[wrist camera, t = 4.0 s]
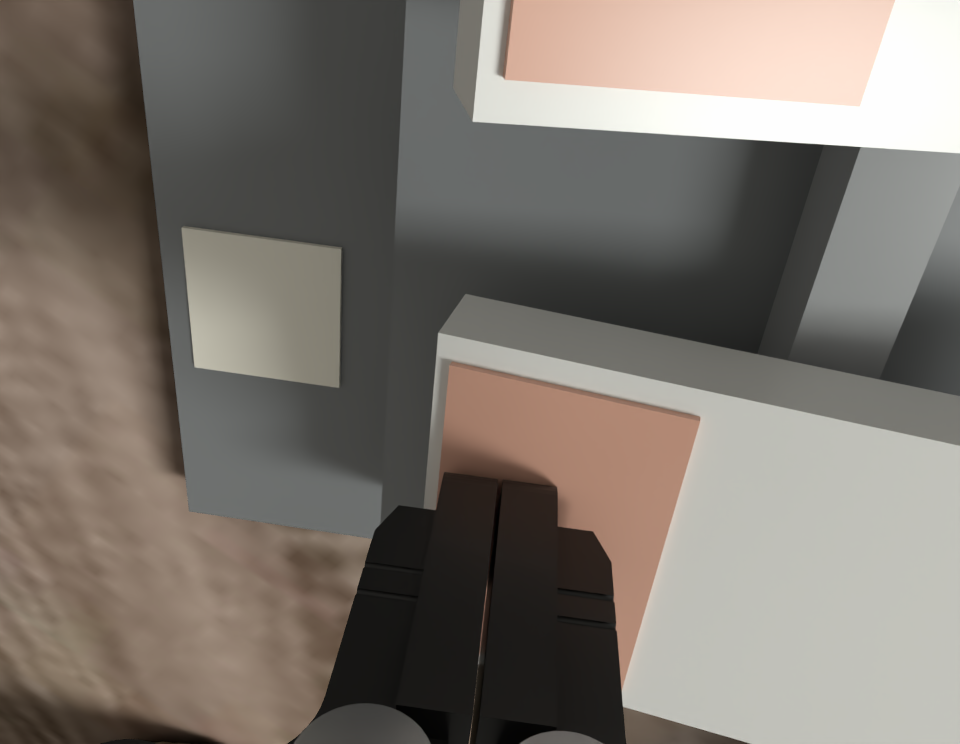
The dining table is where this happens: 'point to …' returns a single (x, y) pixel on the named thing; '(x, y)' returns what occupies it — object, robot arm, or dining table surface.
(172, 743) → the sauce bottle
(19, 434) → the dining table surface
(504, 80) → the switch
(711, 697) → the switch
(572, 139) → the switch box
